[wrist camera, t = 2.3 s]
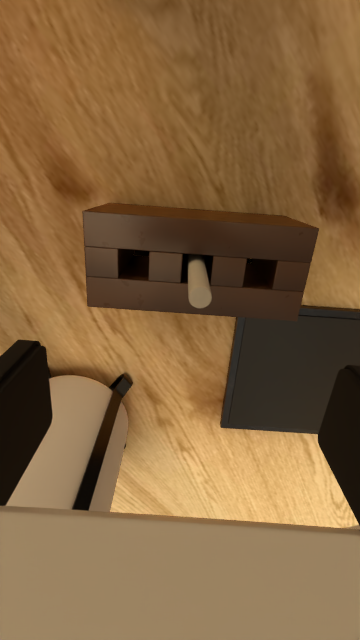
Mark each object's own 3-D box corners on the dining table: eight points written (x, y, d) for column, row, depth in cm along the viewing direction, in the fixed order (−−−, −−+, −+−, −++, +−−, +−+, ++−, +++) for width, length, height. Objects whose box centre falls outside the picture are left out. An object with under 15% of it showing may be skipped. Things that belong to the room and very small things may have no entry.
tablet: (219, 423, 39) (220, 429, 38) (238, 300, 33) (240, 304, 32) (397, 434, 39) (402, 441, 38) (451, 315, 33) (459, 319, 32)
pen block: (108, 202, 29) (82, 210, 22) (285, 216, 29) (319, 228, 22) (110, 277, 32) (87, 306, 24) (271, 288, 32) (297, 321, 25)
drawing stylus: (187, 240, 30) (189, 285, 17) (201, 241, 30) (213, 287, 17) (186, 254, 31) (187, 308, 18) (200, 255, 31) (210, 309, 18)
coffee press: (87, 320, 34) (-348, 939, 6) (168, 422, 39) (126, 997, 12) (-29, 390, 38) (-606, 959, 10) (60, 474, 43) (-163, 996, 16)
